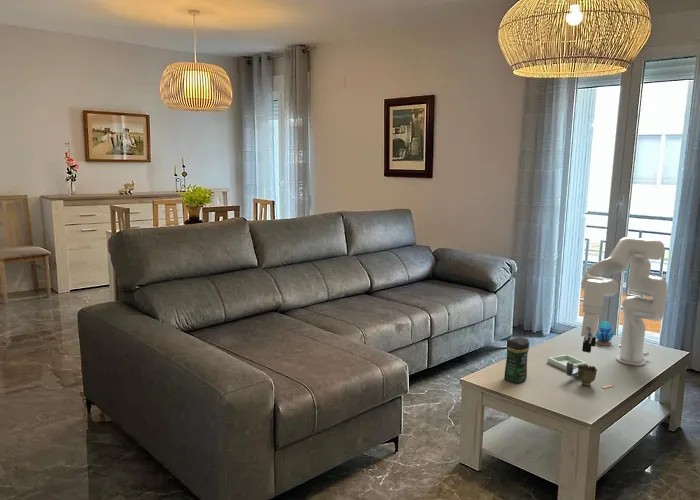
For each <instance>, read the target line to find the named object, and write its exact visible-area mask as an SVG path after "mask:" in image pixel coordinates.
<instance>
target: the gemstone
mask: <svg viewBox="0 0 700 500" xmlns="http://www.w3.org/2000/svg"><path fill="white" fill-rule="evenodd" d="M598 327H599V330H598V331H597V334H596V343H595V344H597V345H599V346H605V347H606V346H608V347H610V346H612V338H613V337H614V331H613V330H612V327H613V326H612V324H611V323H609V322H608V321H607V320H604V321H602V322H599V323H598Z"/></svg>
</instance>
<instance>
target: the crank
mask: <svg viewBox="0 0 700 500" xmlns="http://www.w3.org/2000/svg"><path fill="white" fill-rule="evenodd" d="M578 366H579V365H578ZM580 366H581V365H580ZM565 372H566V373H565V374H566V376H567V377H571V378H572V377H575V375H577V374H578V368H577V369H574V370H573V363H571V362H567V368H566V371H565Z"/></svg>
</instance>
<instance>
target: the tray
mask: <svg viewBox="0 0 700 500" xmlns="http://www.w3.org/2000/svg"><path fill="white" fill-rule="evenodd" d="M567 362H571V363H573V369H574V368H578V365H584V364H585V365H588V363H587V362H585V361H584V360H582V359H579V358H576V357H575V356H572V355H569V354H562V355H555V356H551V357H547V363H548V364H549V365H552V366H554V367H556V368H558V369H560V370H563V371H565V372H566V368H567Z"/></svg>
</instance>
